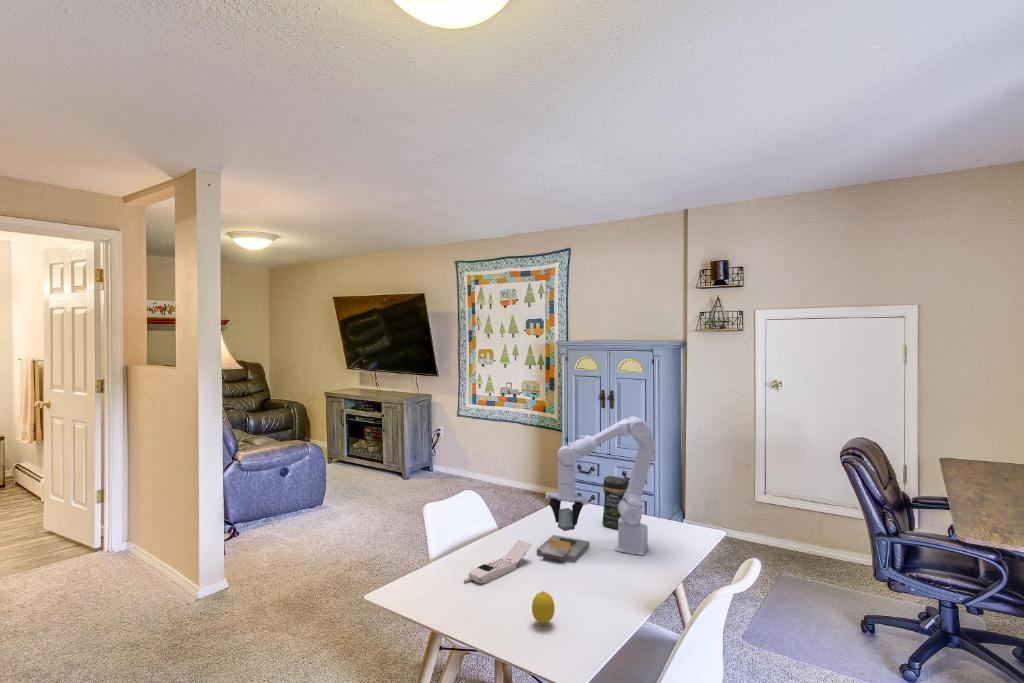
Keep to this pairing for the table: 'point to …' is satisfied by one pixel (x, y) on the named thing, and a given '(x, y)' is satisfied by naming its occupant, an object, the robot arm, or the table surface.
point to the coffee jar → (613, 499)
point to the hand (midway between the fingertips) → (566, 523)
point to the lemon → (543, 607)
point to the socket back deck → (570, 556)
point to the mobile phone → (499, 564)
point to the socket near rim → (581, 546)
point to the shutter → (557, 548)
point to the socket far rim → (553, 538)
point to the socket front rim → (570, 540)
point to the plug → (565, 519)
